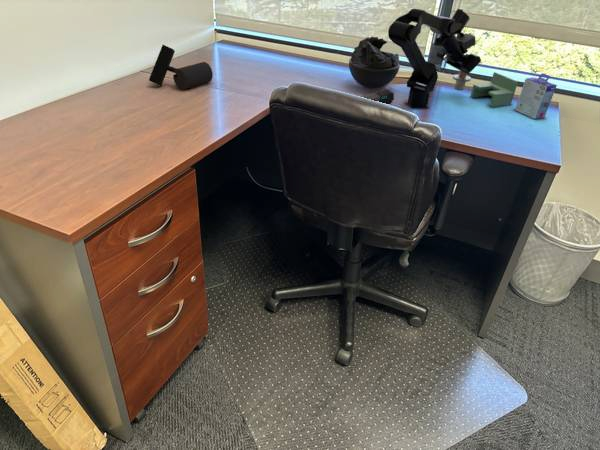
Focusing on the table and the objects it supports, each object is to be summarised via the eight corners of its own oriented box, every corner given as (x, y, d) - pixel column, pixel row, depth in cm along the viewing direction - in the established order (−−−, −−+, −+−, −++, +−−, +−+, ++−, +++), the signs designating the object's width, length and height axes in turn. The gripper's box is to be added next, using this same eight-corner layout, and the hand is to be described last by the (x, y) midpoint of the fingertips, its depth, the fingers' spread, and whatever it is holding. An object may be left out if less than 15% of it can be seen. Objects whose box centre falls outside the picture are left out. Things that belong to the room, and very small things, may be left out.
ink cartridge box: (545, 117, 171) (560, 78, 163) (535, 119, 169) (549, 80, 160) (524, 108, 178) (537, 70, 170) (514, 110, 176) (526, 71, 168)
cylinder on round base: (455, 92, 182) (463, 60, 174) (447, 86, 187) (454, 55, 180) (471, 91, 183) (479, 59, 176) (462, 85, 189) (470, 54, 181)
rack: (491, 107, 177) (498, 84, 172) (470, 96, 186) (476, 74, 181) (510, 104, 181) (518, 81, 176) (488, 94, 190) (495, 72, 184)
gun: (396, 110, 168) (392, 85, 162) (347, 132, 166) (341, 108, 160) (390, 106, 171) (386, 81, 165) (342, 127, 170) (336, 103, 163)
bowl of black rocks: (378, 77, 200) (384, 31, 189) (405, 93, 186) (414, 43, 175) (337, 82, 193) (342, 34, 182) (362, 98, 178) (369, 47, 167)
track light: (217, 69, 185) (170, 47, 183) (212, 62, 171) (161, 38, 169) (203, 105, 187) (156, 84, 185) (196, 101, 173) (145, 78, 171)
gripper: (484, 33, 163) (498, 62, 174) (449, 21, 177) (464, 49, 187) (461, 57, 165) (476, 85, 175) (428, 44, 179) (444, 71, 189)
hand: (466, 72), depth 182 cm, fingers closed on cylinder on round base, 3 cm apart
